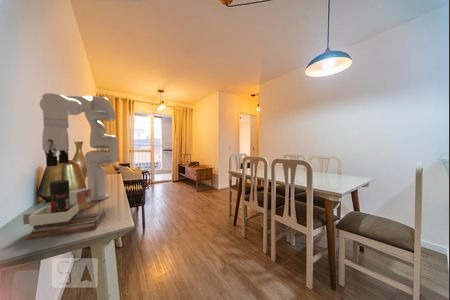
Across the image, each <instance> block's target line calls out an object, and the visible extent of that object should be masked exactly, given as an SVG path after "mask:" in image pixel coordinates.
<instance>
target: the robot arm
mask: <svg viewBox="0 0 450 300" xmlns="http://www.w3.org/2000/svg"><path fill="white" fill-rule="evenodd" d="M41 96H42V98H41V99H40V101H39V106H40V107H39V108H40V109H41V110H42V118H43V119H42V120H43V121H42V122H43V130H42V142H41V143H42V150H43V151H44V153H45V155H44V157H45V159H46V160H45V161H46V167H57V166H58V165H59V164H68V163H70V162H69V150H70V149H69V147H70V145H69V143H70V142H69V141H70V140H69V134H68V133H69V132H68V129H70V128H69V125H70V124H69V116H77V115H78V116H79V115H80V114H81V113H84V116H85V118H86V120H87V122H88V124H89V126H90V134H89V135H90V136H89V147H90V148H92V149H95V150H89V151H87V152H86V153H85V154H84V160H85V161H84V162H85V164H86V165H85V166H86V173H87V175H86V176H87V188H88V189H91V202H96V201H97V202H98V201H102V200H106V199H107V198H109V197H110V194H109V193H107V177H106V174H107V173H106V169H105V167H103V166H104V165H105V166H106V165H107V166H108V165H115V164H116V163H117V162H118V157H119V139H118V137H117V136H116V135H113V134H107V127H106V126H105V125H104V123H102V122H114V121H115V120H116V118H117V113H116V111H115V108H114V106H113V104H112V103H111V101H110V99H108V98H107V97H105V96H98V95H96V96H95V95H70V96H69V95H68V96H65V95H62V94H57V93H53V92H49V93H48V92H46V93H43V94H42V95H41ZM96 149H97V150H96ZM57 153H59V154H58V155H57ZM58 163H59V164H58Z"/></svg>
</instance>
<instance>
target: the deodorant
mask: <svg viewBox="0 0 450 300" xmlns="http://www.w3.org/2000/svg"><path fill="white" fill-rule="evenodd" d="M69 192H70V180H69V179H63V180H54V181H51V182H49V194H50V195H49V196H50V197H49V198H50V206H51V213H59V212H67V211H68V210H69V209H70V196H69Z"/></svg>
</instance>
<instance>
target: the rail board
mask: <svg viewBox="0 0 450 300" xmlns="http://www.w3.org/2000/svg"><path fill="white" fill-rule="evenodd" d="M105 216H106V212H104V210H103V209H101V211H100V212H99V213H93V214H91V213H90V214H85V215H76V216H75V217H74V218H71V219H70V220H69V223H68V224H67V225H63V224H62V222H57V223H50V224H42V225H41V227H40V228H38V229H34V228H32V230H31V232H30V233H28V234H27V235H25V240H26V241H28V240H33V239H40V238H47V237H53V236H59V235H66V234H71V233H72V234H73V233H77V232H78V233H79V232H85V231H92V230H96V229H97V228H98V227H99V225H100V224H101V222H102V221H103V219H104V218H105Z"/></svg>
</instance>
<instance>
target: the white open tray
mask: <svg viewBox="0 0 450 300" xmlns="http://www.w3.org/2000/svg"><path fill="white" fill-rule="evenodd" d="M79 212H80V211H79V208H78V203H77V204H70V209H69V210H68V211H67V212H59V213H51V205H50V206H44V207H41V208H39V209H31V210H29V211H27V212H25V213H23V215H22V219H23V225H28V226H29V227H32V229H38V228H40V227H41V225H42V224H50V223H57V222H62V224H63V225H67V224H68V223H69V220H70V219H71V218H74V217H75V216H77V213H79Z"/></svg>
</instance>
